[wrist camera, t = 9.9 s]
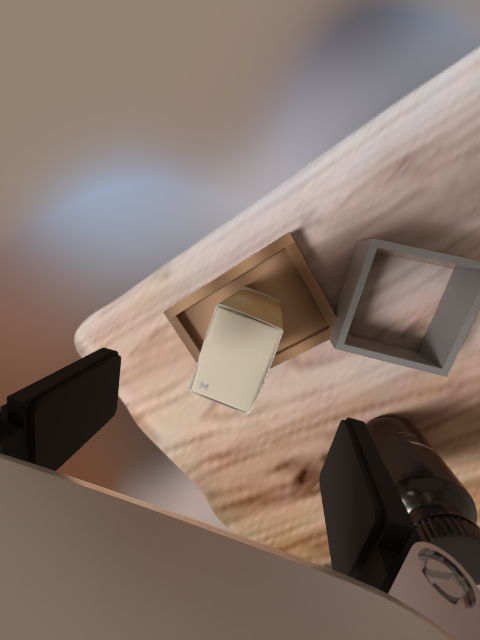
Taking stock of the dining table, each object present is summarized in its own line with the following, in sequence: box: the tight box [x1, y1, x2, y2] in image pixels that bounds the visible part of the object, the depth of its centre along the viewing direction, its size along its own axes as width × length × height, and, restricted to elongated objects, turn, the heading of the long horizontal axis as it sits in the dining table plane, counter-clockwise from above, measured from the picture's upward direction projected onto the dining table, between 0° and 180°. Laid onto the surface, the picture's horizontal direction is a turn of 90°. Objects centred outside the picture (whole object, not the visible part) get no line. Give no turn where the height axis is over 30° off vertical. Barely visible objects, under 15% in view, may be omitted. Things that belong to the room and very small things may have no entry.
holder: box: [329, 238, 480, 377], centre depth 23 cm, size 10×10×4 cm
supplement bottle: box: [366, 417, 480, 585], centre depth 23 cm, size 7×7×12 cm
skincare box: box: [189, 287, 284, 414], centre depth 21 cm, size 6×4×12 cm
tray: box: [164, 232, 337, 368], centre depth 27 cm, size 15×11×1 cm
